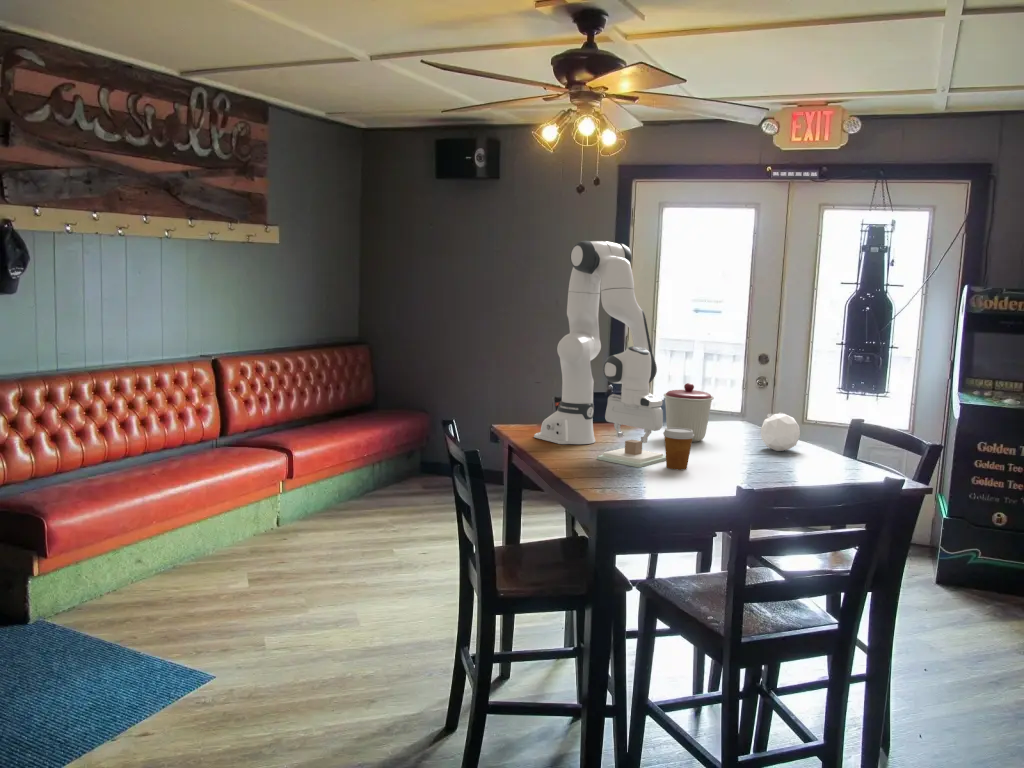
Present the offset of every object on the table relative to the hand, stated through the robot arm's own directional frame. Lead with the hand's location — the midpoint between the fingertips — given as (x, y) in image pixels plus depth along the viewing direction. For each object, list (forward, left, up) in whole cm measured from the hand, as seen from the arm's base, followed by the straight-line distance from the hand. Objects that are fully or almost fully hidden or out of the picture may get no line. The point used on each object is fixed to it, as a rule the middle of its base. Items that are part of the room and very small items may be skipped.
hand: (631, 439), depth 280 cm
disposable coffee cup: (+17, 0, -7) cm, 18 cm away
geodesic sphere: (+27, +55, -7) cm, 62 cm away
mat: (+1, 0, -6) cm, 6 cm away
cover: (+1, 0, -5) cm, 5 cm away
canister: (-5, +46, -7) cm, 47 cm away
